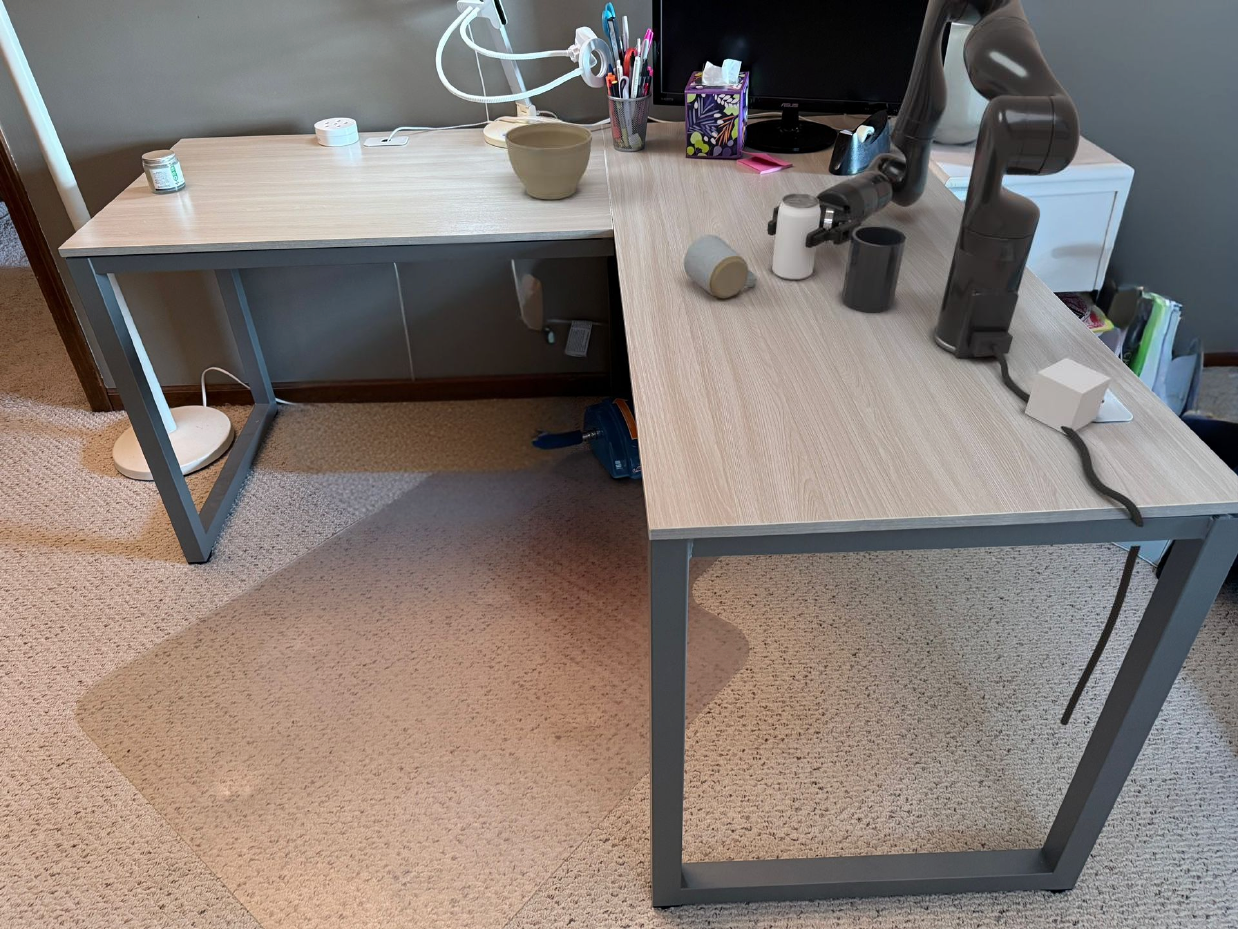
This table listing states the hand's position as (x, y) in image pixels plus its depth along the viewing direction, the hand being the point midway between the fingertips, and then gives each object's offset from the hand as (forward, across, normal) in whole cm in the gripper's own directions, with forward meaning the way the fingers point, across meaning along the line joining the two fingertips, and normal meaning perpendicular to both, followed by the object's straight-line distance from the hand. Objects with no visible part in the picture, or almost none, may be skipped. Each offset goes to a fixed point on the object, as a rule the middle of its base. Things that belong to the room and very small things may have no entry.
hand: (788, 235), depth 141 cm
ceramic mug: (+10, -5, +7) cm, 13 cm away
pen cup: (-2, +14, +7) cm, 16 cm away
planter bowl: (-1, -54, +7) cm, 55 cm away
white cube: (+10, +48, +7) cm, 50 cm away
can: (-2, 0, +7) cm, 8 cm away
